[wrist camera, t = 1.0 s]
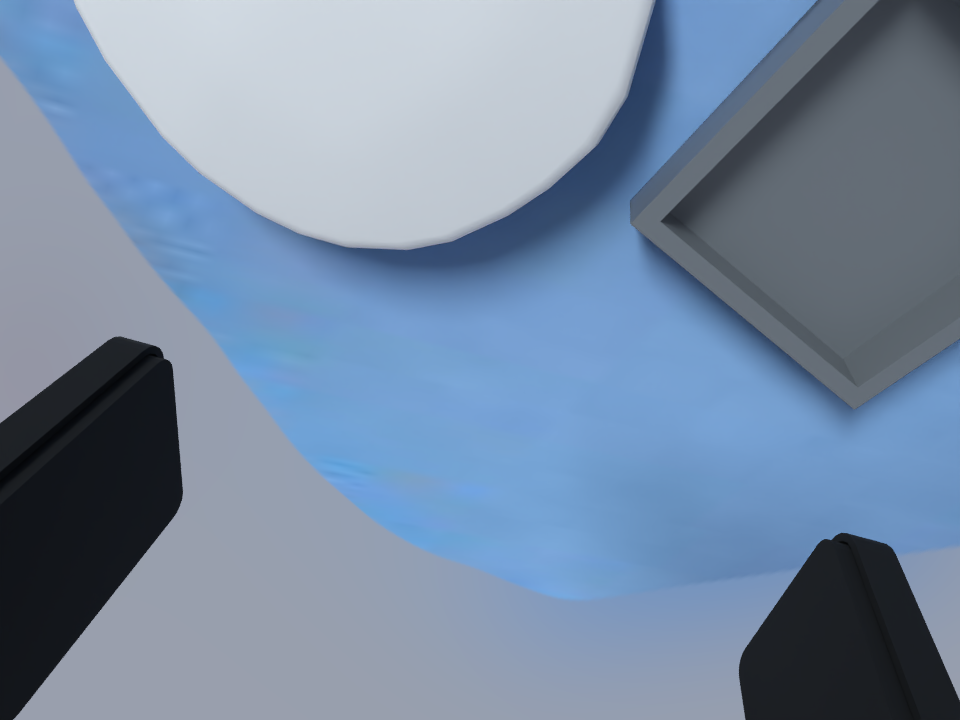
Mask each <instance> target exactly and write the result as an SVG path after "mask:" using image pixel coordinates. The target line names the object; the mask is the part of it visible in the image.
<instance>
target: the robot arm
mask: <svg viewBox="0 0 960 720" xmlns="http://www.w3.org/2000/svg"><path fill="white" fill-rule="evenodd" d="M179 452H180V451H179V440H178V427H177V416H176V403H175V391H174V379H173V368H172V364H171V363H170V361H168V360H166V359H164V357H163V353H162V351H161V349H160V348H158V347H156V346H153V345H149V344H146V343H142V342H139V341H134V340H131V339H127V338H124V337H114V338H112V339H110V340H108V341H107V342H106V343H104V344H103V345H102V346H101V347H99V348H98V349H96V350H95V351H94V352H93V353H91V354H90V355H89V356H87V357H86V358H85V359H83V360H82V361H81V362H80V363H78V364H77V365H76V366H74V367H73V368H72V369H70V370H69V371H68V372H67V373H65V374H64V375H63V376H61V377H60V378H59V379H57V380H56V381H55V382H53V383H52V384H51V385H50V386H49V387H47V388H46V389H44V390H43V391H42V392H40V393H39V394H38V395H37V396H35V397H34V398H33V399H31V400H30V401H29V402H27V403H26V404H25V405H24V406H22V407H21V408H20V409H18V410H17V411H16V412H14V413H13V414H12V415H11V416H9V417H8V418H7V419H5V420H4V421H3V422H1V423H0V720H13V719H14V718H15V717H16V716H17V715H18V714H19V713H20V711H21V710H22V709H23V707H24V706H25V705H26V704H27V702H28V701H29V700H30V699H31V697H32V696H33V695H34V694H35V692H36V691H37V690H38V688H39V687H40V686H41V685H42V683H43V682H44V681H45V680H46V678H47V677H48V676H49V674H50V673H51V672H52V671H53V669H54V668H55V667H56V666H57V664H58V663H59V662H60V661H61V659H62V658H63V656H65V654H66V653H67V652H68V650H69V649H70V648H71V646H72V645H73V644H74V643H75V642H76V640H77V639H78V638H79V636H80V635H81V634H82V633H83V631H84V630H85V629H86V628H87V626H88V625H89V624H90V623H91V621H92V620H93V619H94V617H95V616H96V615H97V614H98V612H99V611H100V610H101V609H102V607H103V606H104V605H105V603H106V602H107V601H108V600H109V598H110V597H111V596H112V595H113V593H114V592H115V590H116V589H117V588H118V587H119V586H120V585H121V583H122V582H123V581H124V579H125V578H126V577H127V575H128V574H129V573H130V572H131V571H132V569H133V568H134V567H135V565H136V564H137V563H138V562H139V560H140V559H141V558H142V557H143V555H144V554H145V553H146V552H147V550H148V549H149V548H150V546H151V545H152V544H153V543H154V541H155V540H156V539H157V538H158V536H159V535H160V534H161V532H162V531H163V530H164V529H165V527H166V526H167V525H168V524H169V522H170V521H171V520H172V519H173V517H174V516H175V514H176V513H177V511H178V509H179V507H180V503H181V501H182V495H183V487H182V476H181V463H180V453H179ZM739 678H740V686H741V693H742V699H743V705H744V712H745V719H746V720H960V700H959V698H958V696H957V694H956V691H955V689H954V687H953V684H952V682H951V680H950V678H949V675H948V673H947V671H946V669H945V666H944V664H943V662H942V659H941V657H940V655H939V652H938V650H937V648H936V645H935V643H934V641H933V639H932V636H931V634H930V632H929V630H928V627H927V625H926V623H925V620H924V618H923V616H922V613H921V611H920V609H919V607H918V604H917V602H916V600H915V597H914V595H913V593H912V591H911V588H910V586H909V584H908V581H907V579H906V577H905V574H904V572H903V570H902V568H901V565H900V563H899V561H898V558H897V556H896V554H895V552H894V551H893V549H892V548H891V547H890V546H888V545H887V544H884V543H881V542H877V541H873V540H870V539H866V538H862V537H859V536H855V535H851V534H848V533H840V534H838V535H836V536H835V537H834V538H833V539H832V540H828V539H824V540H822V541H821V542H820V543H819V544H818V545H817V546H816V548H815V549H814V551H813V552H812V554H811V555H810V556H809V558H808V559H807V561H806V562H805V564H804V565H803V567H802V568H801V569H800V571H799V572H798V574H797V575H796V577H795V578H794V579H793V581H792V582H791V584H790V585H789V587H788V588H787V590H786V591H785V592H784V594H783V595H782V597H781V598H780V600H779V601H778V603H777V604H776V605H775V607H774V608H773V610H772V611H771V612H770V614H769V615H768V617H767V618H766V620H765V621H764V622H763V624H762V625H761V627H760V628H759V630H758V631H757V633H756V634H755V635H754V637H753V638H752V640H751V641H750V643H749V644H748V645H747V647H746V648H745V650H744V652H743V654H742V657H741V660H740V665H739Z"/></svg>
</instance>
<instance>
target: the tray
mask: <svg viewBox="0 0 960 720" xmlns="http://www.w3.org/2000/svg"><path fill="white" fill-rule="evenodd" d="M630 224H631V225H632V226H634V227H635V228H636V229H637V230H638V231H640V232H641V233H642V234H643V235H644V236H646V237H647V238H648V239H649V240H650V241H652V242H653V243H654V244H655V245H656V246H658V247H659V248H660V249H661V250H662V251H664V252H665V253H666V254H667V255H669V256H670V257H671V258H672V259H673V260H675V261H676V262H677V263H678V264H679V265H681V266H682V267H683V268H684V269H685V270H687V271H688V272H689V273H690V274H691V275H693V276H694V277H695V278H696V279H697V280H699V281H700V282H701V283H702V284H703V285H705V286H706V287H707V288H708V289H709V290H711V291H712V292H713V293H714V294H716V295H717V296H718V297H719V298H720V299H722V300H723V301H724V302H725V303H726V304H728V305H729V306H730V307H731V308H732V309H734V310H735V311H736V312H737V313H738V314H740V315H741V316H742V317H743V318H744V319H746V320H747V321H748V322H749V323H750V324H752V325H753V326H754V327H755V328H756V329H758V330H759V331H760V332H761V333H762V334H764V335H765V336H766V337H767V338H769V339H770V340H771V341H772V342H773V343H775V344H776V345H777V346H778V347H779V348H781V349H782V350H783V351H784V352H785V353H787V354H788V355H789V356H790V357H791V358H793V359H794V360H795V361H796V362H797V363H799V364H800V365H801V366H802V367H803V368H805V369H806V370H807V371H808V372H809V373H811V374H812V375H813V376H814V377H815V378H817V379H818V380H819V381H820V382H822V383H823V384H824V385H825V386H826V387H828V388H829V389H830V390H831V391H832V392H834V393H835V394H836V395H837V396H838V397H840V398H841V399H842V400H843V401H844V402H846V403H847V404H848V405H849V406H850V407H852V408H853V409H854V410H855V409H856V408H858V407H859V406H861V405H862V404H864V403H865V402H867V401H868V400H869V399H871V398H872V397H874V396H875V395H877V394H878V393H880V392H881V391H883V390H884V389H886V388H887V387H889V386H890V385H892V384H893V383H895V382H896V381H898V380H899V379H901V378H902V377H904V376H905V375H907V374H908V373H910V372H911V371H913V370H914V369H916V368H917V367H919V366H920V365H921V364H923V363H924V362H926V361H927V360H929V359H930V358H932V357H933V356H935V355H936V354H938V353H939V352H941V351H942V350H944V349H945V348H947V347H948V346H950V345H951V344H953V343H954V342H956V341H957V340H959V339H960V0H818V1H817V2H816V3H815V4H814V5H813V6H812V7H811V8H810V9H809V10H808V11H807V12H806V13H805V15H804V16H803V17H802V18H801V19H800V20H799V21H798V22H797V23H796V24H795V25H794V26H793V27H792V28H791V30H790V31H789V32H788V33H787V34H786V35H785V36H784V37H783V38H782V39H781V40H780V41H779V42H778V43H777V44H776V46H775V47H774V48H773V49H772V50H771V51H770V52H769V53H768V54H767V55H766V56H765V57H764V58H763V59H762V60H761V62H760V63H759V64H758V65H757V66H756V67H755V68H754V69H753V70H752V71H751V72H750V73H749V74H748V75H747V77H746V78H745V79H744V80H743V81H742V82H741V83H740V84H739V85H738V86H737V87H736V88H735V89H734V90H733V91H732V93H731V94H730V95H729V96H728V97H727V98H726V99H725V100H724V101H723V102H722V103H721V104H720V105H719V106H718V108H717V109H716V110H715V111H714V112H713V113H712V114H711V115H710V116H709V117H708V118H707V119H706V120H705V121H704V122H703V124H702V125H701V126H700V127H699V128H698V129H697V130H696V131H695V132H694V133H693V134H692V135H691V136H690V137H689V139H688V140H687V141H686V142H685V143H684V144H683V145H682V146H681V147H680V148H679V149H678V150H677V151H676V152H675V153H674V155H673V156H672V157H671V158H670V159H669V160H668V161H667V162H666V163H665V164H664V165H663V166H662V167H661V168H660V170H659V171H658V172H657V173H656V174H655V175H654V176H653V177H652V178H651V179H650V180H649V181H648V182H647V183H646V184H645V186H644V187H643V188H642V189H641V190H640V191H639V192H638V193H637V194H636V195H635V196H634V197H633V198H632V199H631V201H630Z"/></svg>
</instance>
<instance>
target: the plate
mask: <svg viewBox="0 0 960 720" xmlns="http://www.w3.org/2000/svg"><path fill="white" fill-rule="evenodd" d="M655 1H656V0H74V2H75V5H76V8H77V10H78V11H79V13H80V15H81V17H82V19H83V21H84V23H85V24H86V26H87V28H88V30H89V32H90V34H91V35H92V37H93V39H94V41H95V43H96V45H97V46H98V48H99V50H100V52H101V54H102V56H103V57H104V59H105V61H106V62H107V64H108V65H109V66H110V68H111V69H112V70H113V72H114V73H115V74H116V76H117V77H118V78H119V80H120V81H121V82H122V84H123V85H124V86H125V88H126V89H127V90H128V92H129V93H130V94H131V96H132V97H133V98H134V100H135V101H136V102H137V104H138V105H139V106H140V108H141V109H142V110H143V112H144V113H145V114H146V116H147V117H148V118H149V120H150V121H151V122H152V124H153V125H154V126H155V128H156V129H157V130H158V132H159V133H160V134H161V136H162V137H163V138H164V139H165V140H166V141H167V142H168V143H169V144H170V145H171V146H172V147H173V148H174V149H175V150H176V151H177V152H178V153H179V154H180V155H181V156H182V157H183V158H184V159H185V160H186V161H187V162H188V163H189V164H191V165H192V166H193V167H194V168H195V169H196V170H197V171H198V172H199V173H200V174H201V175H203V176H204V177H206V178H207V179H209V180H210V181H211V182H213V183H214V184H216V185H217V186H218V187H220V188H221V189H223V190H224V191H226V192H227V193H228V194H230V195H231V196H233V197H234V198H236V199H237V200H238V201H240V202H241V203H243V204H244V205H245V206H247V207H248V208H250V209H251V210H253V211H254V212H255V213H257V214H259V215H261V216H263V217H265V218H267V219H269V220H271V221H274V222H276V223H278V224H280V225H282V226H284V227H286V228H288V229H290V230H292V231H294V232H296V233H298V234H301V235H305V236H308V237H312V238H315V239H319V240H322V241H326V242H330V243H333V244H337V245H340V246H344V247H349V248H372V249H396V250H410V249H415V248H421V247H426V246H431V245H436V244H442V243H447V242H452V241H454V240H456V239H458V238H461V237H463V236H465V235H467V234H469V233H471V232H474V231H476V230H478V229H480V228H482V227H485V226H487V225H489V224H491V223H493V222H495V221H498V220H500V219H502V218H504V217H506V216H508V215H510V214H511V213H513V212H514V211H516V210H517V209H519V208H520V207H522V206H524V205H525V204H527V203H528V202H530V201H531V200H533V199H534V198H536V197H537V196H539V195H540V194H542V193H543V192H545V191H546V190H548V189H549V188H550V187H552V186H553V185H554V184H555V183H556V182H557V181H558V180H559V179H560V178H562V177H563V176H564V175H565V174H566V173H567V172H568V171H569V170H570V169H571V168H573V167H574V166H575V165H576V164H577V163H578V162H579V161H580V160H581V159H583V158H584V157H585V156H586V155H587V154H588V153H589V152H590V151H591V150H592V149H594V148H595V147H596V146H597V145H598V144H599V142H600V141H601V139H602V137H603V136H604V134H605V133H606V131H607V129H608V128H609V126H610V124H611V123H612V121H613V120H614V118H615V116H616V115H617V113H618V112H619V110H620V108H621V107H622V105H623V103H624V102H625V100H626V99H627V97H628V94H629V91H630V87H631V84H632V80H633V77H634V73H635V70H636V67H637V63H638V60H639V56H640V53H641V49H642V46H643V43H644V39H645V36H646V32H647V29H648V25H649V22H650V19H651V15H652V12H653V8H654V5H655Z"/></svg>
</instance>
